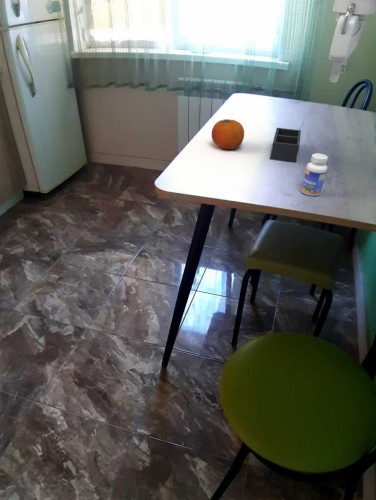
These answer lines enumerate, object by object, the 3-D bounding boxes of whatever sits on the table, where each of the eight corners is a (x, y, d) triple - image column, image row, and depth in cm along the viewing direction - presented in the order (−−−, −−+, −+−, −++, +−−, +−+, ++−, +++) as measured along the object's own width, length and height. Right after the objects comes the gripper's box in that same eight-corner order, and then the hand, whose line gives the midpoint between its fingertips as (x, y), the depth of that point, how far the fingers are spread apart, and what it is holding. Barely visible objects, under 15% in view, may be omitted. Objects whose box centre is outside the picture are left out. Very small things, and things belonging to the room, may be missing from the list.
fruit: (246, 145, 138) (249, 119, 133) (237, 155, 131) (240, 128, 126) (216, 139, 141) (218, 114, 135) (206, 149, 134) (208, 122, 128)
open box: (297, 146, 139) (301, 130, 136) (295, 162, 128) (299, 145, 125) (273, 143, 141) (276, 127, 137) (269, 159, 130) (272, 142, 126)
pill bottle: (296, 191, 113) (304, 154, 106) (308, 186, 116) (317, 150, 109) (312, 198, 110) (322, 161, 103) (324, 193, 113) (334, 156, 106)
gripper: (366, 7, 79) (344, 89, 89) (374, 0, 93) (355, 71, 103) (333, 4, 81) (315, 85, 90) (346, -2, 95) (329, 68, 104)
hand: (336, 77), depth 97 cm, fingers open, 8 cm apart
